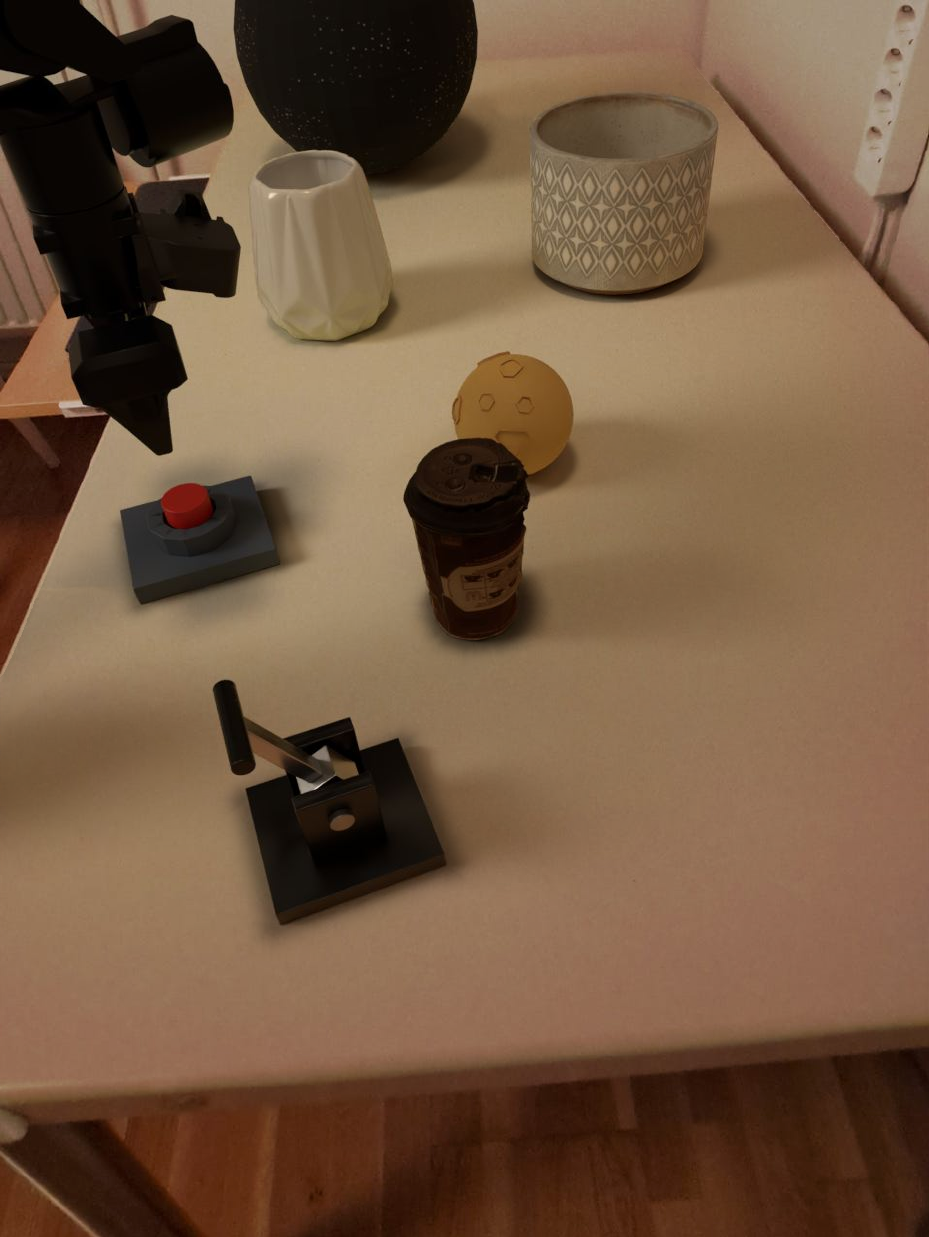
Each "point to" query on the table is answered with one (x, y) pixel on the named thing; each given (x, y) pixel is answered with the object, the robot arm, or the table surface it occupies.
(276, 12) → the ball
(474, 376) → the stress ball
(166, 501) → the button
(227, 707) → the switch lever
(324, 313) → the vase
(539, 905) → the table surface
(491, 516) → the coffee cup
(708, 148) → the planter
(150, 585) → the button block
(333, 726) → the lever bracket
